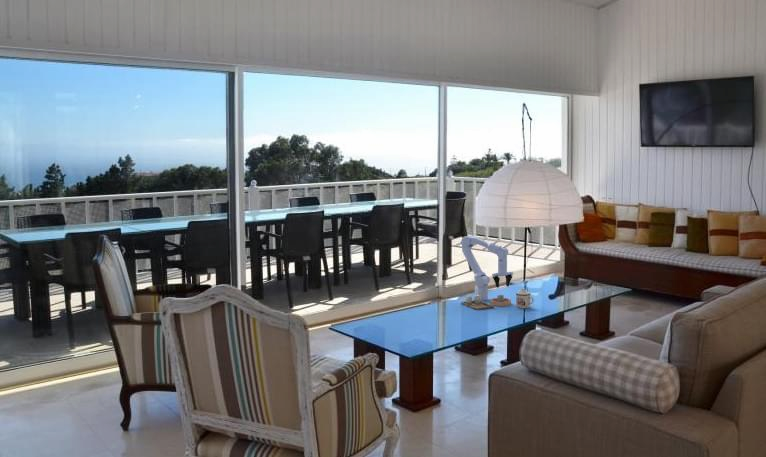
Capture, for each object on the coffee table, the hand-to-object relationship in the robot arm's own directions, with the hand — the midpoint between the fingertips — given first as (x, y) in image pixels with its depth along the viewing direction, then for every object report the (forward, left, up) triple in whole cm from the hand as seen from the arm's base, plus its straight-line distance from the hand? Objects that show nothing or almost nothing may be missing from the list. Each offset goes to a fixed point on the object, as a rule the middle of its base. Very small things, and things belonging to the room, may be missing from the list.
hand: (502, 286), depth 464 cm
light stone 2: (0, -19, -9) cm, 21 cm away
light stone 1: (0, -25, -9) cm, 27 cm away
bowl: (+7, -6, -10) cm, 14 cm away
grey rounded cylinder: (+7, -6, -9) cm, 13 cm away
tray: (+5, -22, -10) cm, 25 cm away
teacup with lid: (+20, +4, -10) cm, 23 cm away
